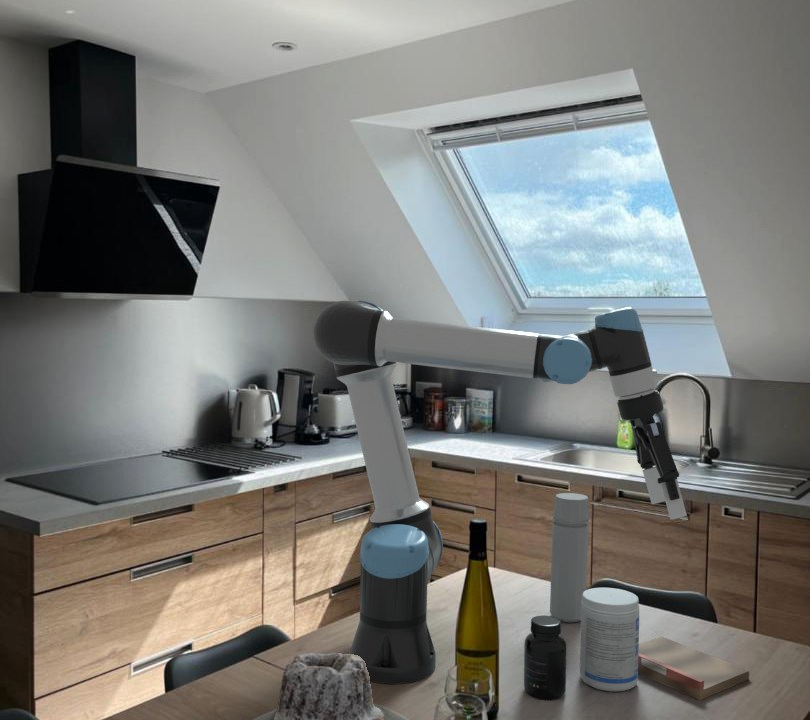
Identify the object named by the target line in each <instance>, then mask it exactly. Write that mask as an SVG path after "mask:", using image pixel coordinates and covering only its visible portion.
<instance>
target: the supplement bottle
mask: <svg viewBox="0 0 810 720" xmlns="http://www.w3.org/2000/svg"><path fill="white" fill-rule="evenodd" d="M561 622H562V621H560V620H559V619H557V618H555V617H552V615H551V616H550V615H546V614H545V615H543V614H542V615H536V616H534V617H532V618H531V620H530V633H529V634H527V636H526V637H525V639H524V647H523V648H524V651H523V652H524V653H523V657H524V659H523V689H524V691H525V693H526V695H529V697H531V698H534V699H536V700H541V701H554V700H556V701H557V700H559V699H561V698H562V697H564V695H565V694H566V691H567V654H568V653H567V651H568V650H567V647H568V646H567V642H566V639H565V638H564V637H563V636H562V627H561V626H562V625H561V624H562V623H561Z"/></svg>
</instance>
